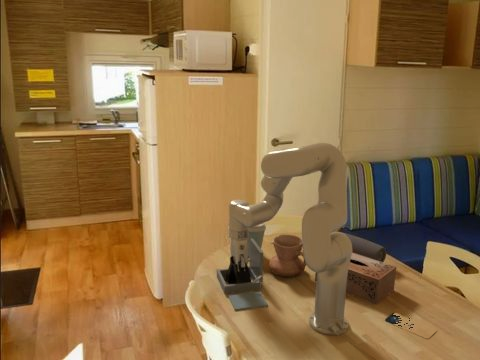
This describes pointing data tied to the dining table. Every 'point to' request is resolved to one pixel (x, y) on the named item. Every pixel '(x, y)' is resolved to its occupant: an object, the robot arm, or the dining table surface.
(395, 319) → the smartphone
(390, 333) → the dining table surface
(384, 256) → the bluetooth speaker
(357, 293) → the tissue box cover
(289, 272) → the ceramic jug
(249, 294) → the slate mat
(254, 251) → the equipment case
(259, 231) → the disposable coffee cup
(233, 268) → the phone stand
